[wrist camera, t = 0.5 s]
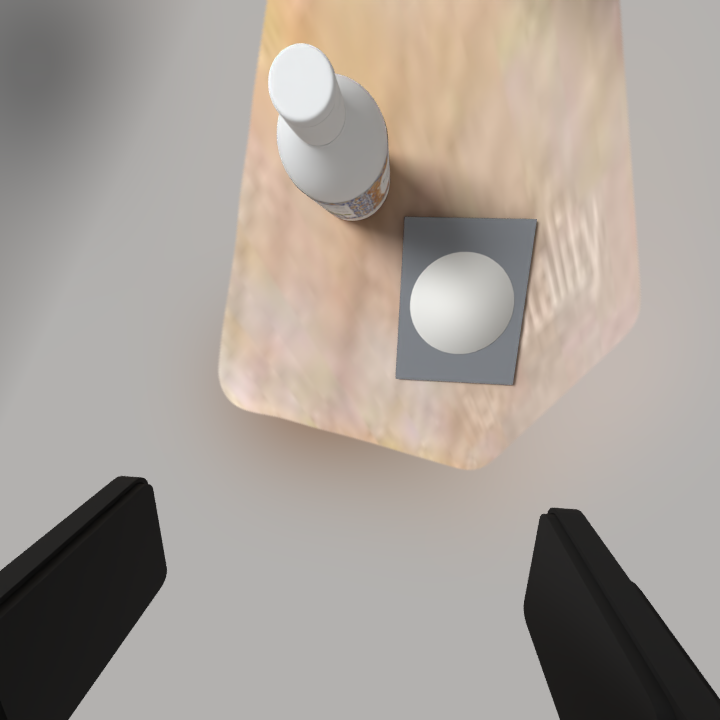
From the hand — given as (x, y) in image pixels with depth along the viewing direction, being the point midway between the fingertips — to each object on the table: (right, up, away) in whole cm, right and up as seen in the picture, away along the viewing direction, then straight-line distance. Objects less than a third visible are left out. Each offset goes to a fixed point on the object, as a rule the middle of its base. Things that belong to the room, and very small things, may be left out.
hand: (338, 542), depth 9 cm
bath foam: (0, +21, +26) cm, 33 cm away
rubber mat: (+11, +10, +28) cm, 31 cm away
